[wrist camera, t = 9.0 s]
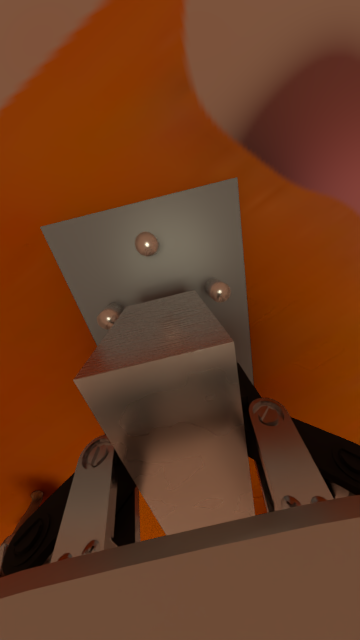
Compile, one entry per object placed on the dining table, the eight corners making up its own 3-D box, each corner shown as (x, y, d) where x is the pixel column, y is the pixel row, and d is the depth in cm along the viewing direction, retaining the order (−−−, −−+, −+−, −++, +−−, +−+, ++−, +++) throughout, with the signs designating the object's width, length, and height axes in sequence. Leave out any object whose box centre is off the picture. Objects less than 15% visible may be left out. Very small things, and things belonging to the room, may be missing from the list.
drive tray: (231, 183, 11) (237, 177, 10) (251, 405, 18) (255, 413, 17) (50, 229, 11) (40, 227, 10) (143, 430, 19) (142, 440, 18)
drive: (194, 289, 10) (233, 341, 4) (218, 412, 13) (256, 525, 8) (126, 306, 10) (72, 380, 4) (169, 424, 13) (172, 544, 8)
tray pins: (211, 219, 11) (221, 212, 9) (237, 405, 17) (246, 424, 15) (82, 251, 11) (65, 251, 9) (154, 424, 17) (153, 445, 15)
